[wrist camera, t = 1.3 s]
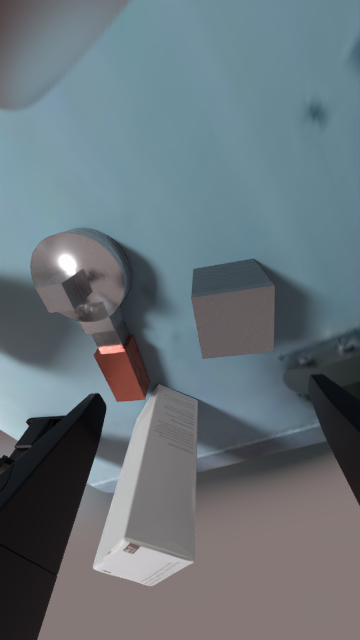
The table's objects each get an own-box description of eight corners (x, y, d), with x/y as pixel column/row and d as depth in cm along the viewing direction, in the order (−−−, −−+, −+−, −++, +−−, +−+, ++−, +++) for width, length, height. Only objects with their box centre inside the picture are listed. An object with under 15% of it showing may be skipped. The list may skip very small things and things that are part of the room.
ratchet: (167, 382, 27) (159, 427, 22) (110, 387, 28) (90, 431, 23) (115, 219, 18) (81, 231, 13) (35, 237, 19) (-26, 254, 14)
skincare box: (172, 430, 32) (154, 589, 19) (134, 416, 31) (88, 573, 18) (200, 396, 28) (200, 570, 15) (157, 379, 27) (118, 549, 14)
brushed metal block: (255, 311, 21) (273, 351, 16) (202, 318, 22) (202, 358, 17) (253, 258, 19) (274, 285, 13) (193, 269, 19) (191, 297, 14)
